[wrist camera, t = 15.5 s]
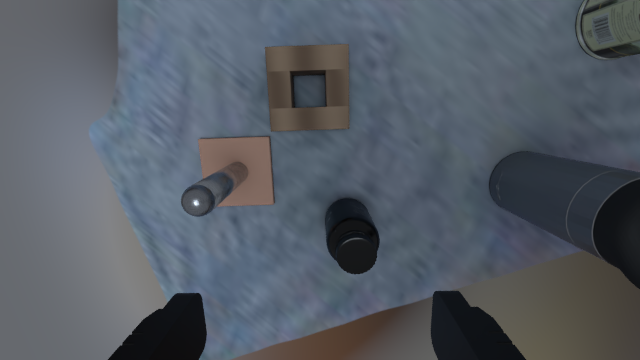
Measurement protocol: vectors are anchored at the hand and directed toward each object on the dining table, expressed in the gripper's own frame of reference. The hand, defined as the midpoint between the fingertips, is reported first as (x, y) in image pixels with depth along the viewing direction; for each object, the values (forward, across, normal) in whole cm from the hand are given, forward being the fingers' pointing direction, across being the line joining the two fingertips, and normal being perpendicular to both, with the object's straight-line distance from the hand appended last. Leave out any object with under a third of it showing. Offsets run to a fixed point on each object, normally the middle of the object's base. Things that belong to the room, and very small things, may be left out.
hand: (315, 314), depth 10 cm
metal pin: (+33, +13, +2) cm, 35 cm away
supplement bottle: (+34, -3, +10) cm, 36 cm away
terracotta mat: (+34, +13, +2) cm, 36 cm away
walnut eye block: (+34, +2, -9) cm, 36 cm away
